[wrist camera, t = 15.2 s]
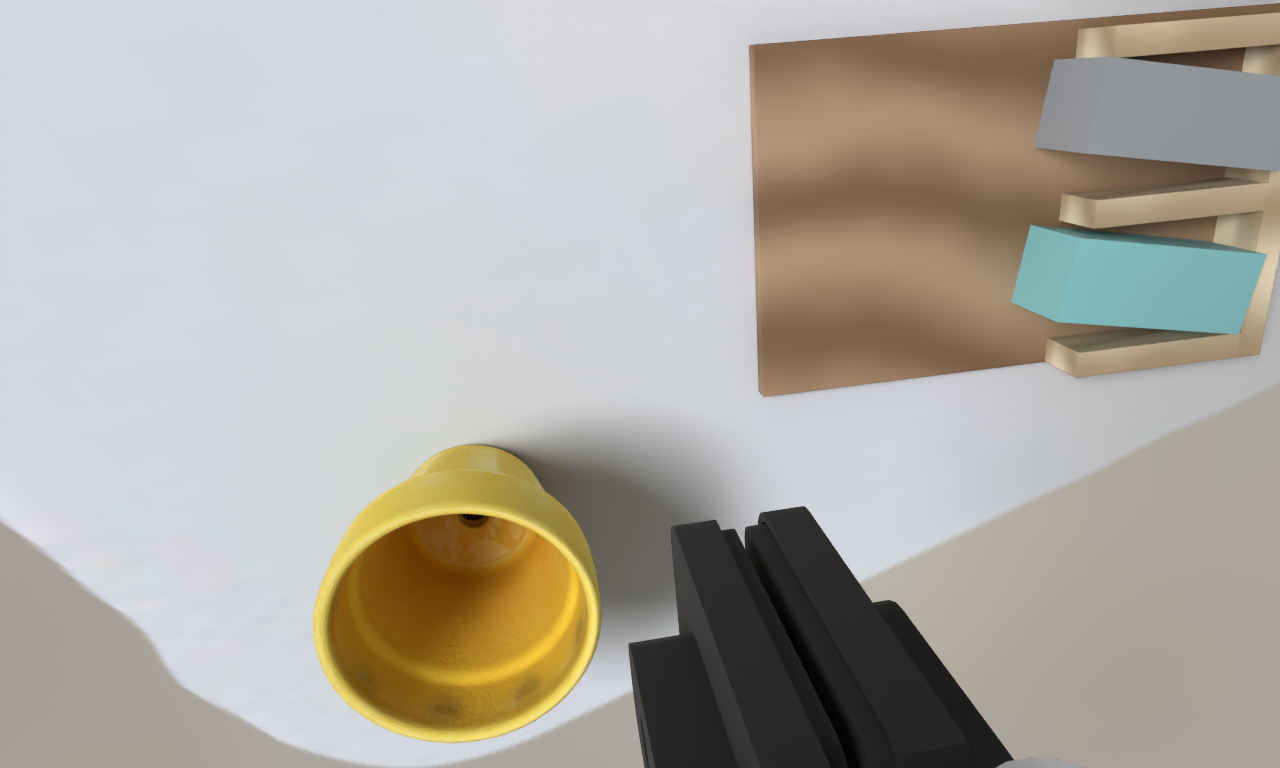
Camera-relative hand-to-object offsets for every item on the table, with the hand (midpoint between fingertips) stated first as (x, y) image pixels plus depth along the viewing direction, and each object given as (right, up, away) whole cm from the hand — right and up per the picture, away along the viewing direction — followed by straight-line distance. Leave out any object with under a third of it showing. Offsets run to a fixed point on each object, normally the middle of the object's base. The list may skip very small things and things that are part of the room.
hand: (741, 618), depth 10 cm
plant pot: (-9, -3, +29) cm, 30 cm away
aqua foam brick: (+21, +8, +28) cm, 36 cm away
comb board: (+16, +11, +27) cm, 33 cm away
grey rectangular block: (+21, +15, +26) cm, 36 cm away
